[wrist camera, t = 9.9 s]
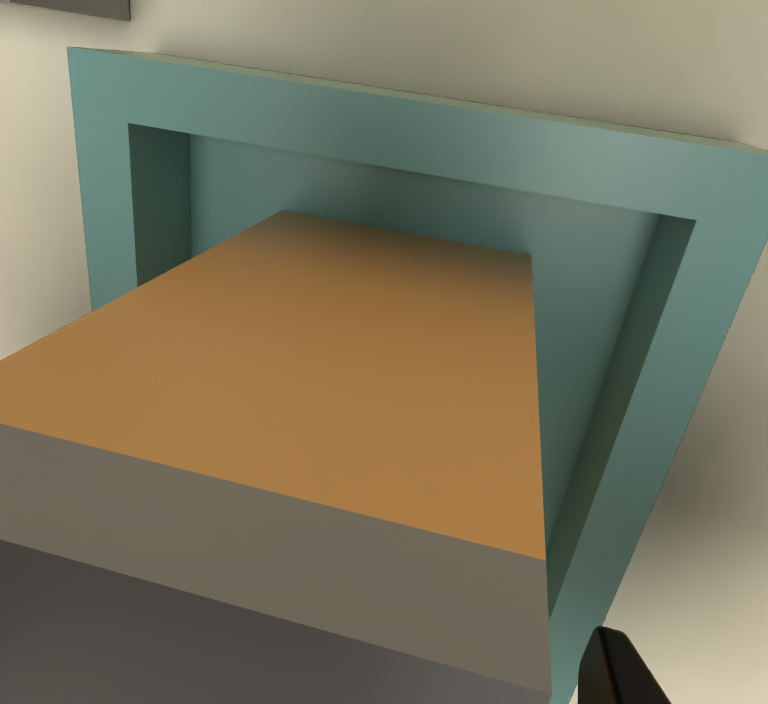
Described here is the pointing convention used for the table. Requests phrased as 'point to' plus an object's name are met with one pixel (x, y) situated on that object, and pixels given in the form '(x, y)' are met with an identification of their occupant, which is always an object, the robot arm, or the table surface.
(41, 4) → the bay
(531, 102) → the table surface
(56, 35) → the table surface
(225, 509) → the grey and orange block
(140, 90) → the tray
